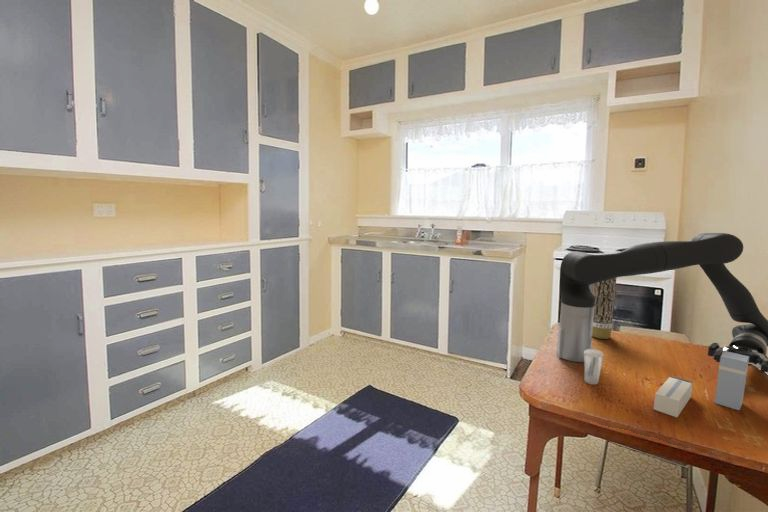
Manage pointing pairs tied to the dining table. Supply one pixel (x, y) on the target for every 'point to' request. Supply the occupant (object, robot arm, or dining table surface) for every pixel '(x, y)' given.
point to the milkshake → (592, 365)
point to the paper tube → (603, 308)
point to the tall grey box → (731, 380)
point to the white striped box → (673, 396)
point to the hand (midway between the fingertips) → (739, 363)
